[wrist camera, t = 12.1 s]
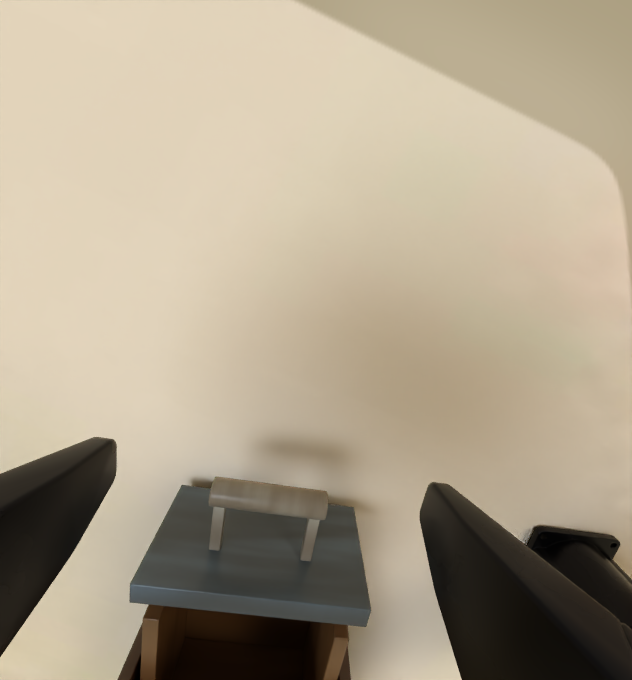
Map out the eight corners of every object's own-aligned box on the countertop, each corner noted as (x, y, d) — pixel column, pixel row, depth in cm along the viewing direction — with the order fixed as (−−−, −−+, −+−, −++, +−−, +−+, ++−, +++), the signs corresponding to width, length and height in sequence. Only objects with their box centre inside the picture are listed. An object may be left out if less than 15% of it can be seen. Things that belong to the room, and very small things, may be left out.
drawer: (186, 427, 21) (131, 511, 14) (367, 453, 22) (392, 543, 15) (170, 627, 26) (124, 755, 19) (319, 641, 26) (322, 770, 20)
